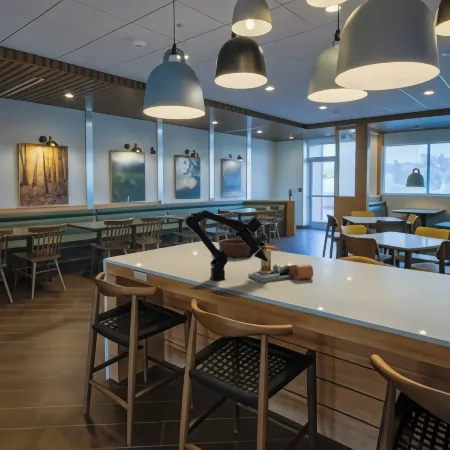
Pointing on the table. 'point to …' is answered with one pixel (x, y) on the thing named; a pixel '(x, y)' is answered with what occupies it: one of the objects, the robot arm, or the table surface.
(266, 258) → the robot arm
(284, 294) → the table surface
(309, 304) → the table surface
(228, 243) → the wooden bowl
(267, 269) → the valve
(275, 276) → the socket plate
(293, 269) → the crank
